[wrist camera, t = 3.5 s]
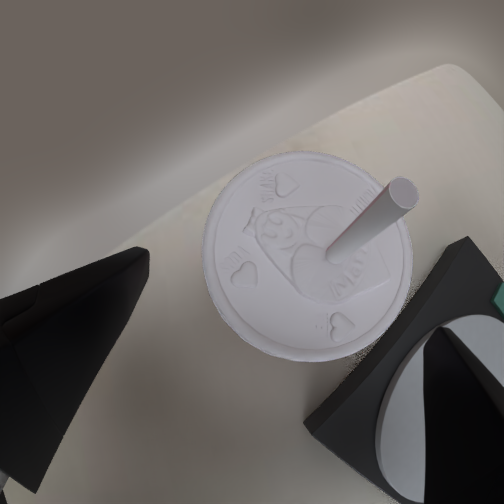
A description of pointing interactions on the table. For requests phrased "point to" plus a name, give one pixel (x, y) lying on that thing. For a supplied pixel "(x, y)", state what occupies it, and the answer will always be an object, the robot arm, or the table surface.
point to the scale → (412, 374)
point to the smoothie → (309, 255)
